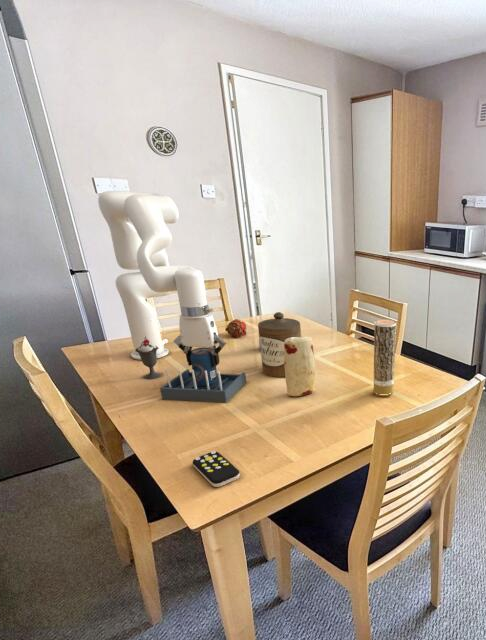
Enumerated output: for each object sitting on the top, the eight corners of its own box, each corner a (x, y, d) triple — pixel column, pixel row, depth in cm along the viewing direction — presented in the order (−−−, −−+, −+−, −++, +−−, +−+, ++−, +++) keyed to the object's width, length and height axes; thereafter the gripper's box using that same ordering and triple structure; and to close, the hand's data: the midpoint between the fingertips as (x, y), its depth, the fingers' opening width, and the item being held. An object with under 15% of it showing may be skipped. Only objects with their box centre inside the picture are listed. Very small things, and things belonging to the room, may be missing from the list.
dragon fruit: (239, 343, 183) (234, 340, 192) (253, 331, 185) (248, 327, 194) (224, 329, 178) (220, 326, 188) (239, 316, 180) (235, 314, 190)
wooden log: (396, 391, 142) (398, 321, 132) (388, 399, 136) (390, 326, 126) (378, 387, 144) (379, 318, 134) (370, 395, 138) (370, 323, 128)
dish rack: (188, 379, 142) (184, 353, 138) (246, 382, 142) (243, 356, 138) (162, 399, 127) (156, 370, 123) (226, 402, 127) (222, 374, 123)
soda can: (190, 386, 133) (184, 351, 128) (207, 378, 139) (202, 345, 134) (206, 390, 131) (200, 355, 126) (223, 382, 137) (218, 349, 132)
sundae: (154, 380, 139) (144, 338, 133) (137, 378, 140) (127, 336, 134) (168, 373, 145) (160, 333, 139) (152, 371, 146) (143, 331, 140)
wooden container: (254, 372, 150) (247, 314, 141) (279, 360, 163) (275, 305, 154) (288, 380, 145) (283, 320, 136) (311, 366, 158) (308, 311, 149)
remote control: (215, 490, 90) (214, 482, 89) (191, 465, 97) (190, 458, 96) (242, 477, 94) (241, 470, 93) (217, 455, 101) (216, 448, 101)
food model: (290, 401, 131) (285, 341, 123) (283, 393, 136) (278, 335, 128) (319, 394, 136) (316, 337, 128) (311, 387, 141) (308, 331, 133)
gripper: (228, 309, 128) (235, 362, 136) (173, 306, 128) (183, 359, 135) (217, 315, 121) (225, 370, 129) (159, 312, 121) (170, 367, 128)
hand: (203, 364), depth 132 cm, fingers closed on soda can, 7 cm apart
